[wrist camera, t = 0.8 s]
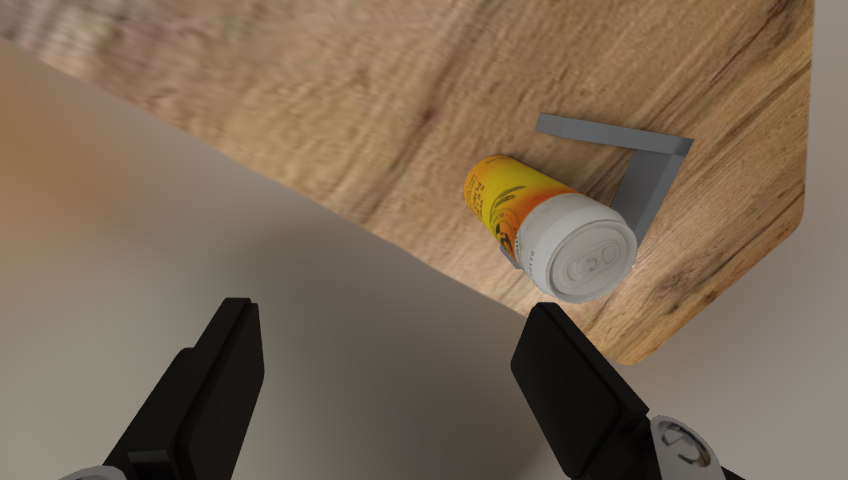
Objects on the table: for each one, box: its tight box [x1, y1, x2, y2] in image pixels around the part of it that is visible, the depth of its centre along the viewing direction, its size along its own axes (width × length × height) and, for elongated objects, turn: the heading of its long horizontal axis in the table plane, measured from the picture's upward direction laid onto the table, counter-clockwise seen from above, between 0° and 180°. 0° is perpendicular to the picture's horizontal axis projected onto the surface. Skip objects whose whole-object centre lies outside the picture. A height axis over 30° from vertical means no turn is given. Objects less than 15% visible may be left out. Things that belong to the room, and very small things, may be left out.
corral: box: [500, 113, 694, 269], centre depth 30 cm, size 13×14×4 cm
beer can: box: [464, 155, 637, 304], centre depth 23 cm, size 6×6×15 cm
